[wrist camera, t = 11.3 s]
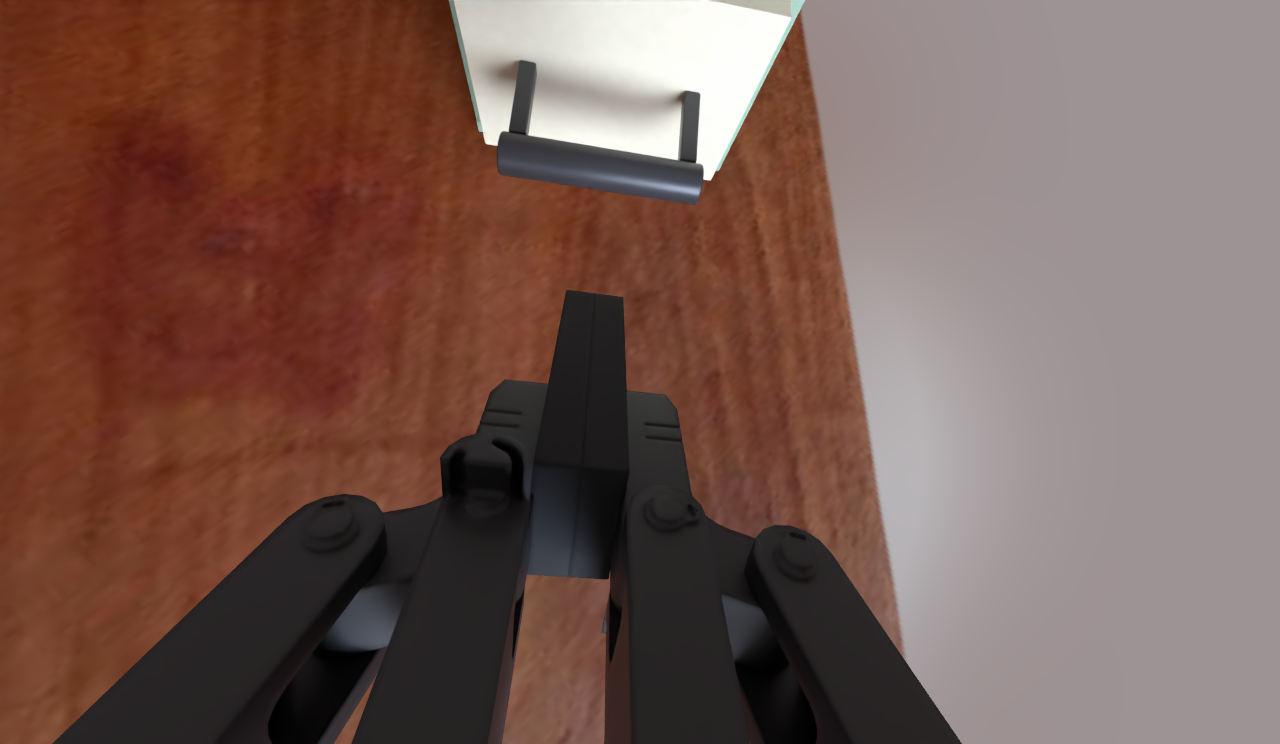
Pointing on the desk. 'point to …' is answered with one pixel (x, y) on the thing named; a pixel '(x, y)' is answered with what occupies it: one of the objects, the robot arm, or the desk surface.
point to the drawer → (617, 87)
